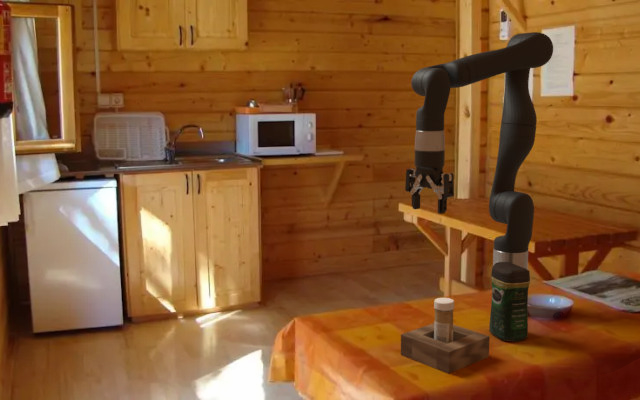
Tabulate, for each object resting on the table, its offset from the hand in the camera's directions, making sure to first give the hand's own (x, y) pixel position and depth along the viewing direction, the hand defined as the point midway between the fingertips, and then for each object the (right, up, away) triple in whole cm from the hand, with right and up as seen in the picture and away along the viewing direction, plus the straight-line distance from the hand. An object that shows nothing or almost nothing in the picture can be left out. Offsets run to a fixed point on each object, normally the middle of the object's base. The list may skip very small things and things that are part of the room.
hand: (428, 211), depth 187 cm
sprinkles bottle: (+1, -34, -17) cm, 38 cm away
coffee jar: (+19, -31, -5) cm, 37 cm away
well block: (+1, -34, -17) cm, 38 cm away
